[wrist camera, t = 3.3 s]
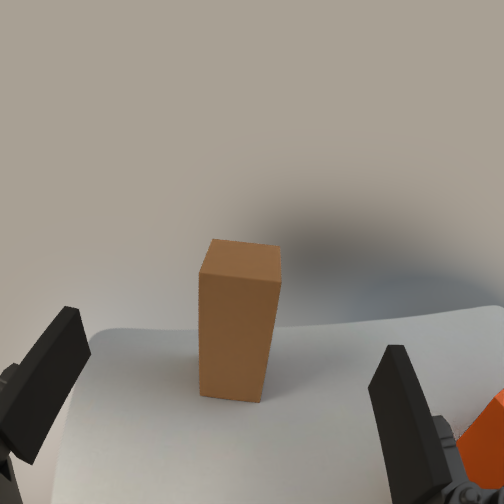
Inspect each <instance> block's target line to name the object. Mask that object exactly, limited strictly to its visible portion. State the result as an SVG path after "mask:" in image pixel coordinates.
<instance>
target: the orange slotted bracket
mask: <svg viewBox="0 0 504 504" xmlns="http://www.w3.org/2000/svg"><path fill="white" fill-rule="evenodd" d="M456 444H457V445H456V447H458V450H459V453H460V455H461V458H462V461H463V464H464V468H465V471H466V474H467V476H468V479H469V480H470V481H471V482H475V483H476V484H477V485H479V487H480V488H482V489H500V488H501V487H502V486H504V389H503V390H502V391H500V392H499V393H498V394H497V395H496V396H495V397H494V398H493V399H492V400H491V402H490V403H489V404H488V405H487V407H486V408H485V409H484V410H483V412H482V413H481V414H480V415H479V416H478V418H477V419H476V420H475V421H474V422H473V424H472V425H471V426H470V427H469V428H468V429H467V430H466V432H465V433H464V434H463V435H462V436H461V437H460V438H459V439H458V440H457V441H456Z"/></svg>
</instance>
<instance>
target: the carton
mask: <svg viewBox="0 0 504 504" xmlns="http://www.w3.org/2000/svg"><path fill="white" fill-rule="evenodd" d="M280 258H281V257H280V246H273V245H265V244H256V243H246V242H237V241H228V240H219V239H212V242H211V244H210V246H209V249H208V251H207V254H206V257H205V259H204V261H203V264H202V267H201V269H200V272H199V385H200V395H201V396H207V397H214V398H222V399H230V400H238V401H248V402H258V403H259V402H260V399H261V394H262V389H263V383H264V378H265V373H266V368H267V362H268V357H269V351H270V346H271V340H272V335H273V329H274V323H275V317H276V312H277V306H278V300H279V294H280V288H281V259H280Z"/></svg>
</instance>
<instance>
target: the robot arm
mask: <svg viewBox="0 0 504 504" xmlns="http://www.w3.org/2000/svg"><path fill="white" fill-rule="evenodd" d="M90 356H91V352H90V349H89V345H88V342H87V338H86V335H85V331H84V327H83V324H82V320H81V316H80V312H79V309H77V308H72V307H68V306H64V308H63V309H62V310H61V311H60V312H59V314H58V315H57V316H56V317H55V319H54V320H53V321H52V323H51V324H50V325H49V326H48V327H47V329H46V330H45V331H44V333H43V334H42V335H41V336H40V338H39V339H38V340H37V342H36V343H35V344H34V346H33V347H32V348H31V350H30V351H29V352H28V354H27V355H26V356H25V358H24V359H23V361H22V362H21V363H20V365H18V364H15V363H13V364H12V365H10V366H9V367H7V368H6V369H5V370H4V371H3V372H2V374H1V375H0V504H23V502H22V499H21V496H20V492H19V489H18V485H17V482H16V478H15V474H14V470H13V466H12V462H11V459H10V457H9V453H10V451H12V452H13V453H14V455H15V456H16V457H17V458H19V459H21V460H23V461H24V462H26V463H28V464H30V465H33V463H34V461H35V458H36V456H37V454H38V452H39V450H40V448H41V446H42V444H43V442H44V440H45V438H46V436H47V434H48V432H49V430H50V428H51V426H52V424H53V422H54V420H55V418H56V416H57V415H58V413H59V411H60V409H61V407H62V405H63V404H64V402H65V400H66V398H67V396H68V394H69V393H70V391H71V388H72V387H73V385H74V384H75V382H76V380H77V378H78V376H79V375H80V373H81V371H82V369H83V368H84V366H85V364H86V363H87V361H88V359H89V357H90ZM368 390H369V394H370V398H371V402H372V406H373V411H374V415H375V419H376V423H377V428H378V432H379V437H380V441H381V446H382V451H383V456H384V460H385V465H386V470H387V476H388V481H389V486H390V492H391V497H392V503H393V504H504V486H502V487H501V488H500V489H482V488H480V487H479V485H477V484H476V483H475V482H471V481H470V480H469V479H468V476H467V474H466V471H465V468H464V464H463V461H462V458H461V455H460V453H459V450H458V447H456V445H457V444H456V441H455V438H453V433H452V430H451V427H450V425H449V424H448V422H447V421H446V420H445V419H444V418H443V416H442V415H440V416H432V415H431V413H430V410H429V407H428V404H427V402H426V399H425V396H424V394H423V391H422V389H421V386H420V384H419V381H418V378H417V376H416V373H415V371H414V369H413V366H412V364H411V361H410V359H409V356H408V354H407V352H406V349H405V347H404V345H388V346H387V348H386V350H385V353H384V355H383V357H382V359H381V361H380V364H379V366H378V368H377V370H376V372H375V374H374V376H373V378H372V380H371V382H370V384H369V386H368Z"/></svg>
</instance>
